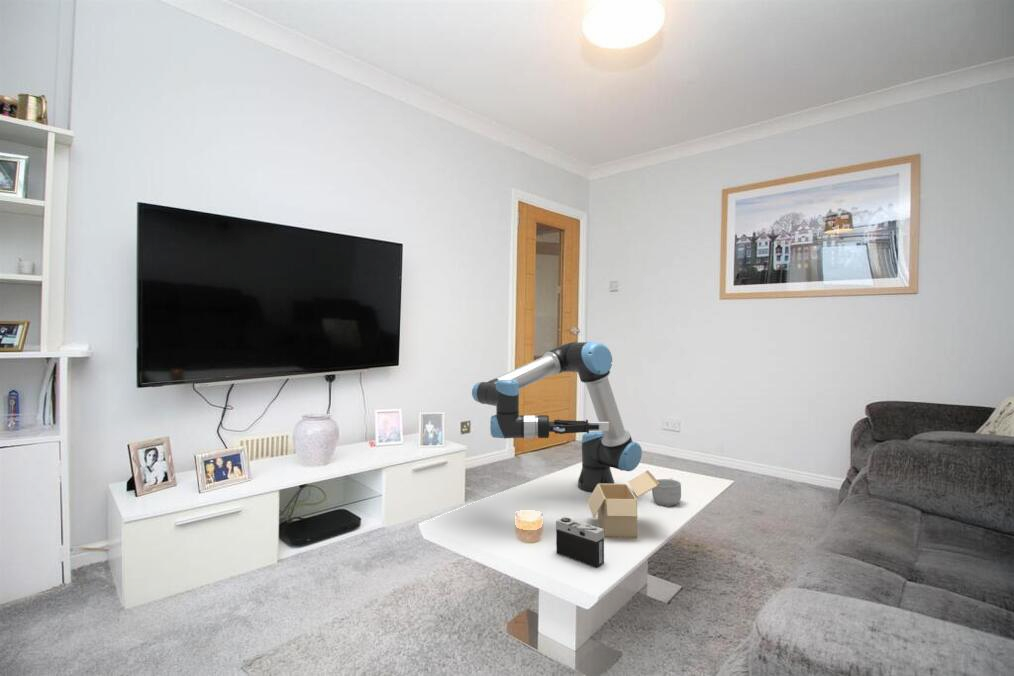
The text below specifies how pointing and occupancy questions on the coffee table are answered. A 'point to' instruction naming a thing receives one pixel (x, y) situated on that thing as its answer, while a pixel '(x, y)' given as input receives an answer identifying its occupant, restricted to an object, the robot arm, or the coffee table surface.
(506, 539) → the coffee table surface
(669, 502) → the teacup
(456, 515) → the coffee table surface
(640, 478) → the flap
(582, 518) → the coffee table surface
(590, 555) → the camera
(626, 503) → the carton
